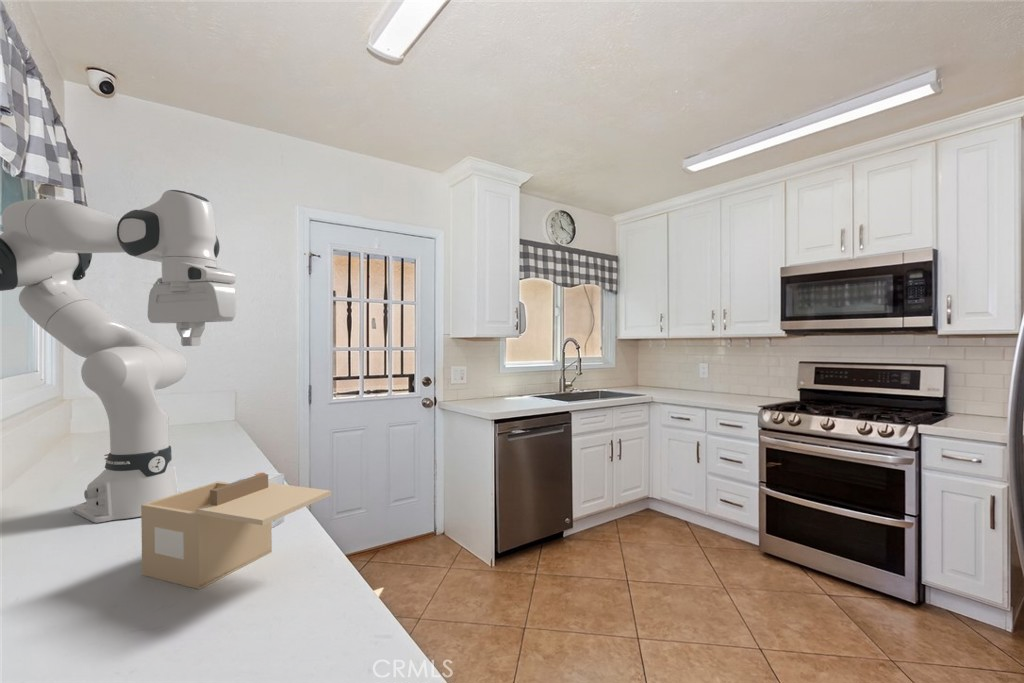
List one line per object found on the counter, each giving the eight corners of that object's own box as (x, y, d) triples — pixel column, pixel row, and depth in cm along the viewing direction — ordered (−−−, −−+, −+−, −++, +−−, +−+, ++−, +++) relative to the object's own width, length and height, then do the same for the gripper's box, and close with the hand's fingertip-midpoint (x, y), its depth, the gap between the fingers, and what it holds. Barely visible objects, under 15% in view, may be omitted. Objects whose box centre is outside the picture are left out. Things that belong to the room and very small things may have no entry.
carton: (141, 575, 80) (140, 505, 80) (218, 541, 93) (217, 481, 93) (198, 589, 75) (197, 515, 75) (271, 551, 88) (270, 488, 88)
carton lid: (195, 513, 75) (195, 494, 75) (270, 487, 89) (269, 470, 88) (262, 525, 70) (262, 504, 70) (330, 495, 84) (330, 477, 83)
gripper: (137, 276, 92) (138, 346, 92) (211, 269, 85) (212, 346, 85) (170, 280, 98) (171, 345, 98) (242, 274, 91) (243, 345, 91)
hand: (190, 346), depth 91 cm, fingers closed
